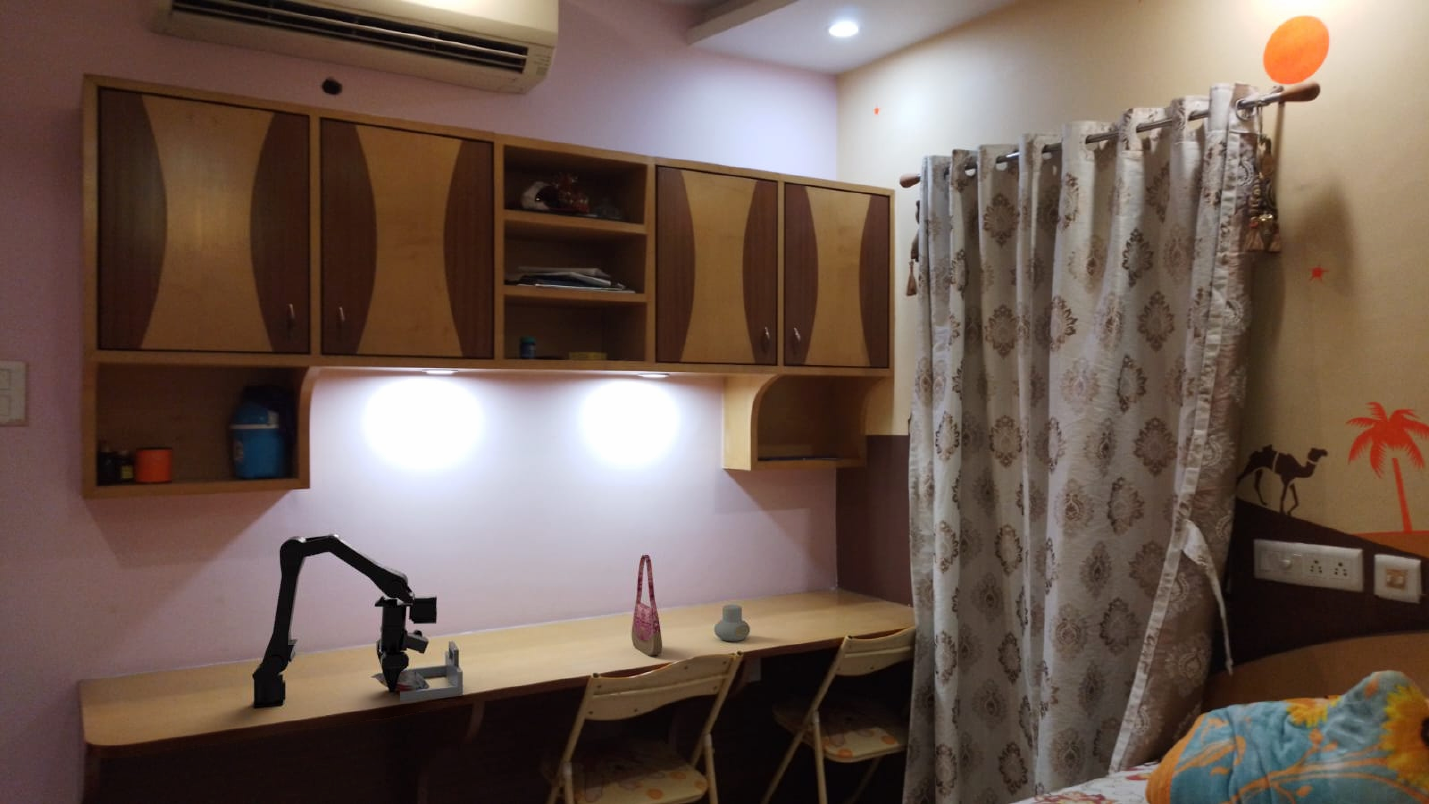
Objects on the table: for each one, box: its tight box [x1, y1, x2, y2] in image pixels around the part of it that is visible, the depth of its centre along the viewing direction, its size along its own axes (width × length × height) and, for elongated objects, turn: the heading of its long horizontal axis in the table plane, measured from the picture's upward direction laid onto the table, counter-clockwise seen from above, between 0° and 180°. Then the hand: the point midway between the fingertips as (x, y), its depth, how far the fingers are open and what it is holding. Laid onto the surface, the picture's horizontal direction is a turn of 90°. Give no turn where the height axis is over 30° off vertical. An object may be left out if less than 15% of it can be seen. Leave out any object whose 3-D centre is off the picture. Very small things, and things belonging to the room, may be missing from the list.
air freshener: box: [713, 604, 751, 643], centre depth 291 cm, size 11×8×10 cm
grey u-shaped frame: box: [399, 640, 464, 704], centre depth 241 cm, size 15×21×10 cm
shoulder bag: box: [631, 554, 663, 657], centre depth 277 cm, size 17×3×28 cm, turn 27°
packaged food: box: [370, 670, 431, 692], centre depth 237 cm, size 9×12×5 cm
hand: (390, 687), depth 236 cm, fingers open, 9 cm apart
